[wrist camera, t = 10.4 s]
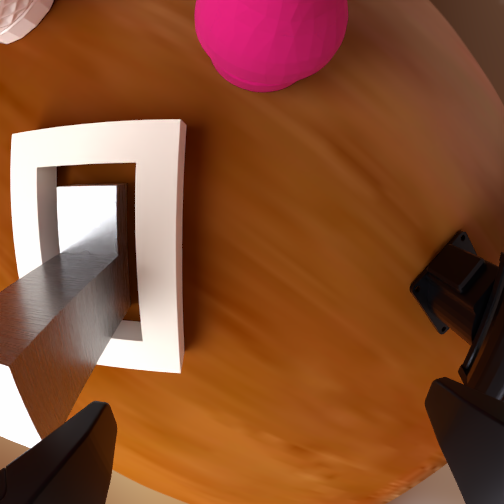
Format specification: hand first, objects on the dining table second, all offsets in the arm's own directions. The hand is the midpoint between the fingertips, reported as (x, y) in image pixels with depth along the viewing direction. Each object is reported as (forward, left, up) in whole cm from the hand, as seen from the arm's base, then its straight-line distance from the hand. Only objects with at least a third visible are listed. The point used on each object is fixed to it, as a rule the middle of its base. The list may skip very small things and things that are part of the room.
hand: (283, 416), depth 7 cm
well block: (+8, +6, -13) cm, 16 cm away
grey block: (+8, +6, -13) cm, 16 cm away
